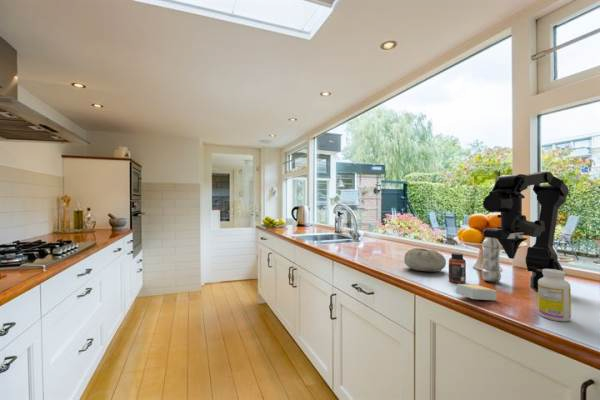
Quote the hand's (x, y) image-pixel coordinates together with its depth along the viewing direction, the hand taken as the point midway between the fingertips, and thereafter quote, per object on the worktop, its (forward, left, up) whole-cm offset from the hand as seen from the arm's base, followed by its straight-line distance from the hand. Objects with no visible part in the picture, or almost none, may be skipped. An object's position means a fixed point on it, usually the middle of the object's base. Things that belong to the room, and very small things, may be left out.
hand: (511, 258), depth 94 cm
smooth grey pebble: (+25, -30, -13) cm, 41 cm away
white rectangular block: (+8, +4, -11) cm, 14 cm away
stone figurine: (+1, -20, -13) cm, 24 cm away
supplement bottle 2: (-5, +16, -13) cm, 21 cm away
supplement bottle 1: (+14, -14, -13) cm, 24 cm away
